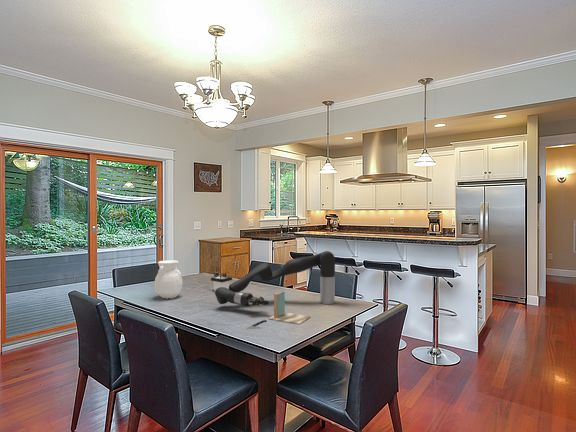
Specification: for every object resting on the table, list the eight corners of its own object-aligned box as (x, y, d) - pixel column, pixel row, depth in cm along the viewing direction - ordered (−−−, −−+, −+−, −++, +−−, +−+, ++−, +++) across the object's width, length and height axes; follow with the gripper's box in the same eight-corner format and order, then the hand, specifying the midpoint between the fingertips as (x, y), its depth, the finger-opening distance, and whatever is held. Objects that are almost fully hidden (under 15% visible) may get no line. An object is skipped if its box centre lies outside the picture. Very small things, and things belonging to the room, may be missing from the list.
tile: (274, 317, 198) (273, 294, 197) (281, 313, 205) (280, 291, 205) (277, 317, 196) (277, 294, 196) (284, 314, 204) (284, 291, 203)
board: (268, 319, 196) (268, 318, 196) (280, 312, 208) (280, 311, 208) (299, 324, 187) (299, 323, 187) (310, 317, 199) (310, 316, 199)
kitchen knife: (277, 323, 190) (263, 320, 195) (277, 322, 189) (263, 319, 195) (241, 340, 165) (225, 336, 171) (241, 339, 165) (225, 335, 171)
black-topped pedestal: (246, 290, 270) (246, 272, 270) (222, 297, 248) (222, 278, 248) (220, 285, 285) (220, 269, 285) (195, 292, 263) (194, 274, 263)
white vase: (166, 293, 259) (166, 259, 258) (188, 295, 253) (187, 260, 252) (148, 299, 241) (148, 262, 241) (171, 301, 235) (170, 263, 235)
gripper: (236, 295, 206) (261, 299, 197) (250, 290, 217) (274, 294, 209) (236, 308, 206) (261, 312, 198) (249, 302, 218) (274, 306, 209)
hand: (268, 303), depth 203 cm, fingers closed
